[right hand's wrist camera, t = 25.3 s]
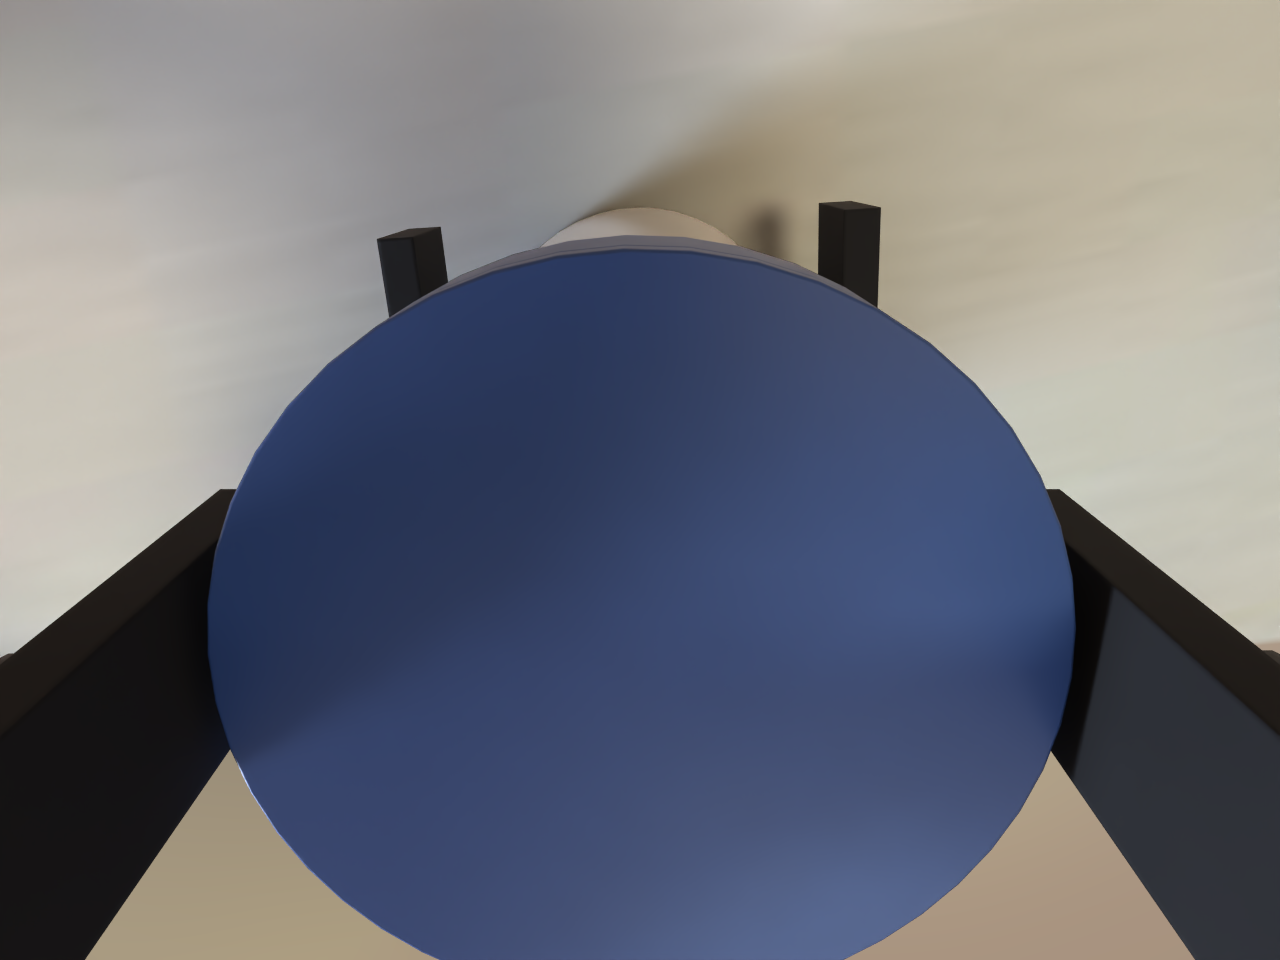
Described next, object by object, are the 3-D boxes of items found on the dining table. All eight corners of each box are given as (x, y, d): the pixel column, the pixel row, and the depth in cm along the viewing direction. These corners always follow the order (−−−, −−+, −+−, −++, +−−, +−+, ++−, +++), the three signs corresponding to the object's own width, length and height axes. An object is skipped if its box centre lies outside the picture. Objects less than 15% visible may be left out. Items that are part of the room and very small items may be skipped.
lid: (1025, 864, 13) (1075, 956, 12) (377, 946, 14) (345, 1044, 12) (1012, 163, 10) (1081, 165, 8) (150, 313, 10) (65, 339, 9)
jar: (740, 518, 29) (862, 960, 13) (473, 459, 28) (259, 850, 12) (821, 247, 26) (1108, 393, 10) (525, 174, 25) (330, 206, 9)
